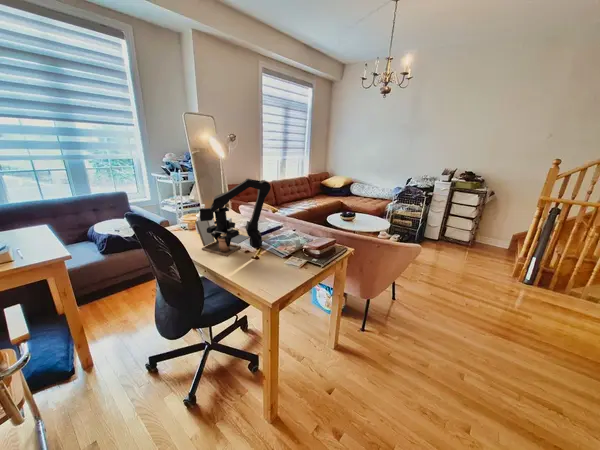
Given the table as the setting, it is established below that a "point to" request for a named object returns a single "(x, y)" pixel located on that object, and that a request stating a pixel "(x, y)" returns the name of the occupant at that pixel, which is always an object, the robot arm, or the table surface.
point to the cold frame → (215, 249)
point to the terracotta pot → (223, 244)
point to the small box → (229, 221)
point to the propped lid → (204, 232)
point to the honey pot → (208, 221)
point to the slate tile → (239, 238)
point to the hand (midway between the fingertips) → (224, 245)
